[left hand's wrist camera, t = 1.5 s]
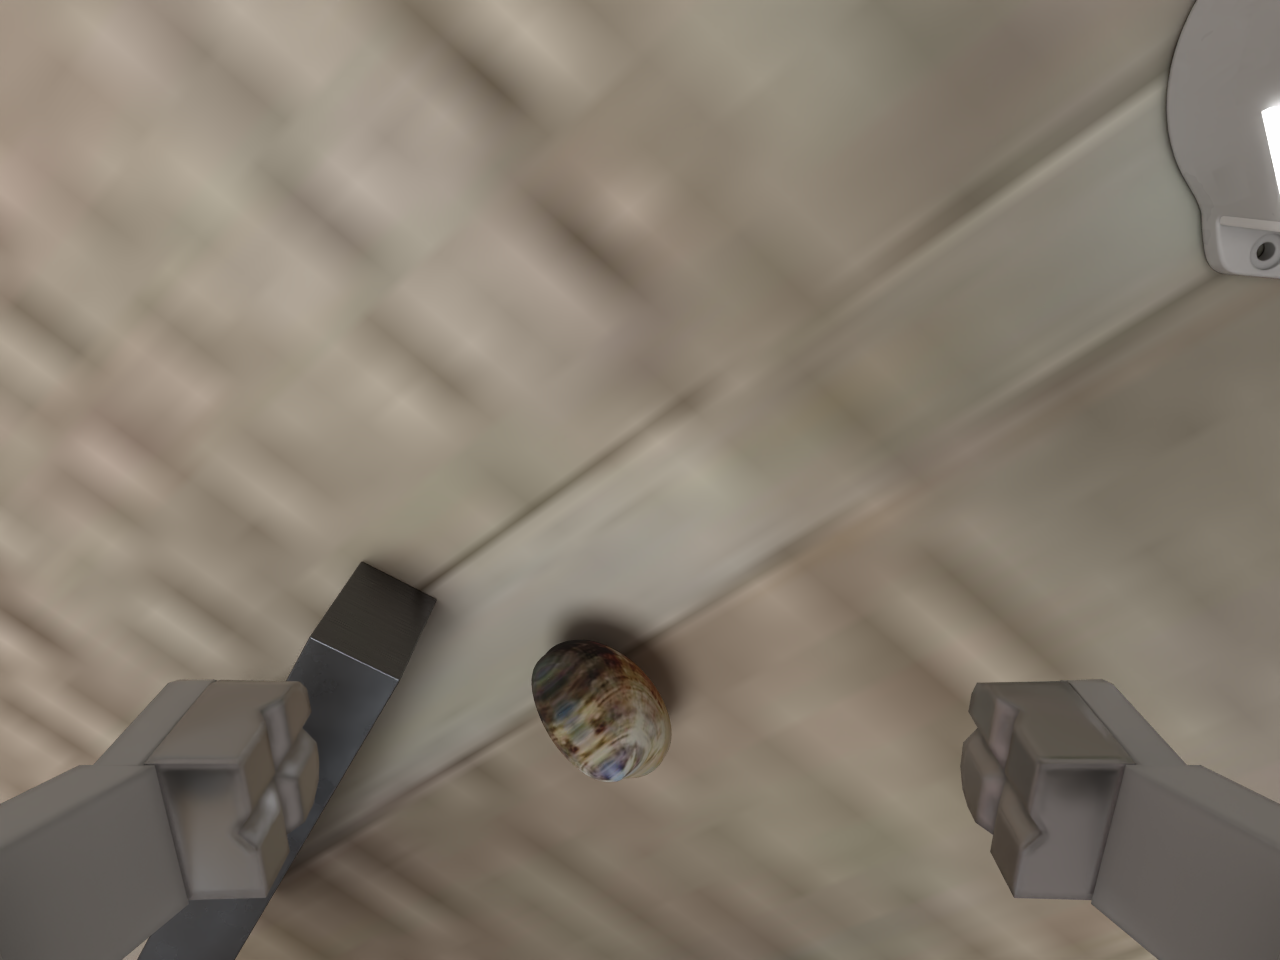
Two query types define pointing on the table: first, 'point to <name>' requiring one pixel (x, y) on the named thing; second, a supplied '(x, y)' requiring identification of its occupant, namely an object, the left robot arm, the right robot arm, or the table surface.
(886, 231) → the table surface
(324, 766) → the bar
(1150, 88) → the table surface
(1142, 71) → the table surface
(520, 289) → the table surface
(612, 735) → the seashell
